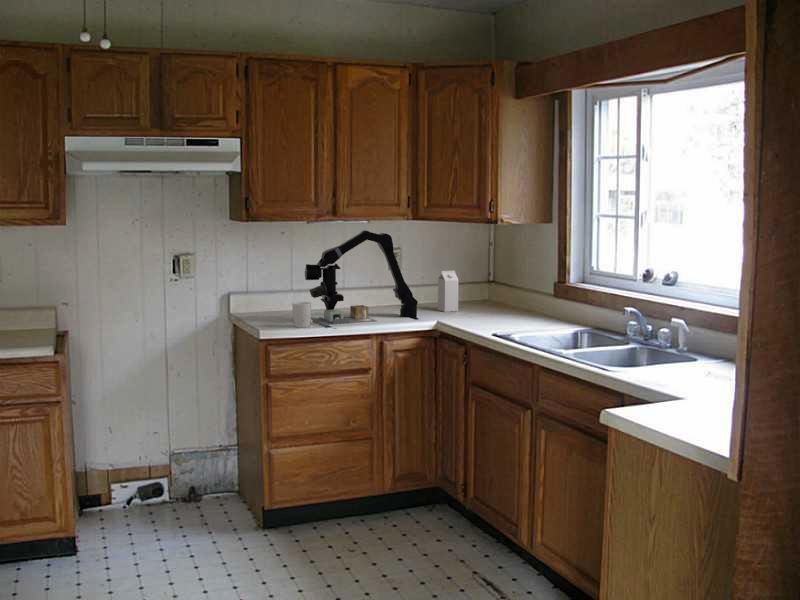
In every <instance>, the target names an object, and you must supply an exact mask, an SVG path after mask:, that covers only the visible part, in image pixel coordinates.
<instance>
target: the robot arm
mask: <svg viewBox="0 0 800 600" xmlns="http://www.w3.org/2000/svg"><path fill="white" fill-rule="evenodd" d="M365 241H370V242H374V243H377V245H378V248H379V249H380V250H381V252H382V253H383V254H384V257H385V260H386V263H387V265H388V268H389V271H390V274H391V276H392V278H393V281H394V284H395V285H394V286H395V287H394V288H392V291H393V293H394V295H395V296H394V297H395V298H397V299H398V300H399V301H400V303H401V305H400V309H399V311H400V312H399V313H400V316H399V317H401V318H409V319H412V320H419V317H418V316H417V314H418V312H417V311H418V303H419V302H418V300H417V299H416V298H415V297H414V294H413V292H412V290H411V288H410V287H409V286H408V284H407V283H406V282H405V279H404V277H403V273H402V271H401V269H400V266H399V263H398V259H397V257H396V255H395V251H394V241H393V238H392V235H390V234H388V233H385V232H380V233H375V232H372V231H369V230H366V229H364V230H362V231H360V232H359V233H358V234H356V235H354V236H353V237H351V238H350V239H348V240H346V241H345V242H343V243H341V244H340V245H338V246H337V245H336V246H334V247H331V248H329V249H328V248H327V249H326V250H323V252H322V254H321V258H320V260H319V261H318V262H317V263H316V264H309V263H307V264H305V269H304V280H305V281H319V280H320V279H321V278H322V281H321V282H320V283H319V284H320V285H317V286H314V287H313V288H310V289H309V293H310V296H311V298H314V299H316V298H320V297H321V298H320V301H321V302H322V303H324V306H325V310H335V309H336V306H337V303H338V302H343V301H344V300H345V299H344V298H345V297H344V295H343V294H341V293H338V291H337V285H338V281H337V270H341V267H340V266H339V264H338V263H336V262H337V261H339V259H341V257H342V256H343V255H344V254H346V253H347V252H349V251H351V250H352V249H355V248H356V247H357V246H359V245H360V244H362V243H364V242H365Z"/></svg>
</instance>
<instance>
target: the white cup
mask: <svg viewBox="0 0 800 600" xmlns="http://www.w3.org/2000/svg"><path fill="white" fill-rule="evenodd" d="M291 308H292V321H293V327H294V328H296V329H297V328H299V329H302V328H303V329H305V328H310V327H311V318H312V317H311V316H312V302H310V301H294V302H292V307H291Z"/></svg>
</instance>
